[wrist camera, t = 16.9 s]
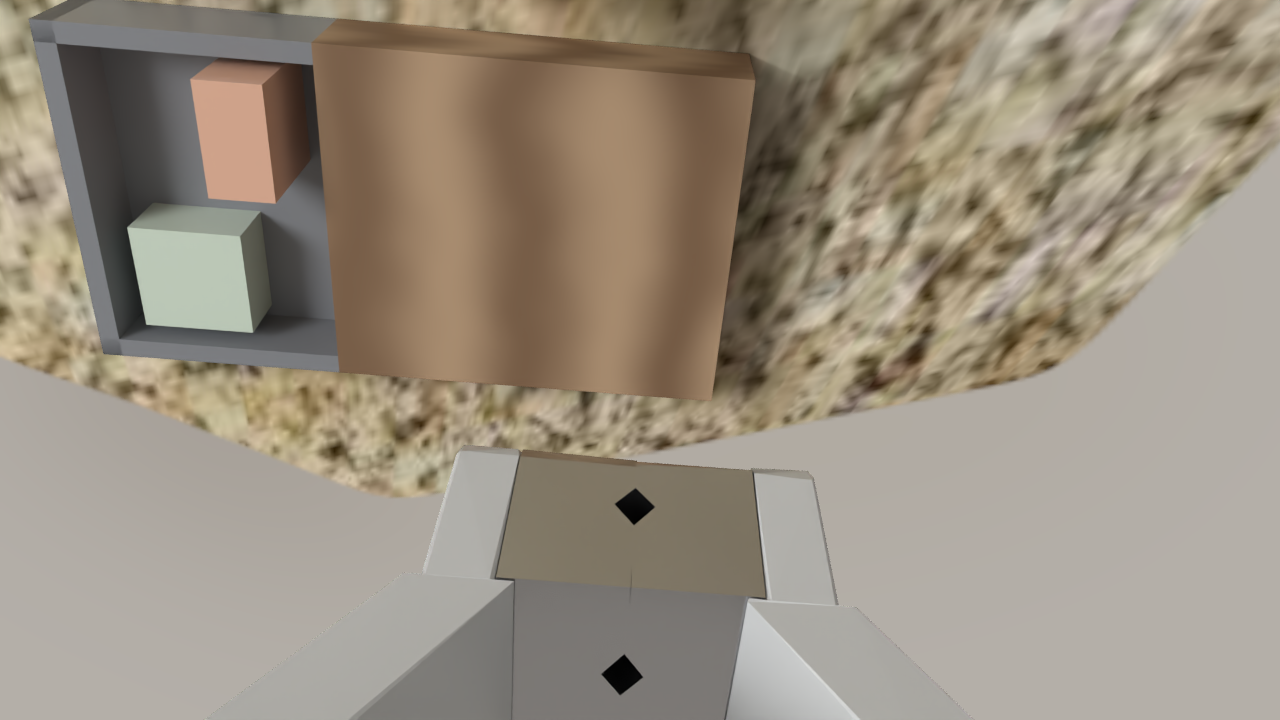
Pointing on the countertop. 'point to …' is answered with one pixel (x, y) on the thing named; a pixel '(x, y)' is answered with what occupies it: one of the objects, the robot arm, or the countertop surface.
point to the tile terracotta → (251, 128)
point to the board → (529, 206)
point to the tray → (179, 168)
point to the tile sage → (201, 267)
